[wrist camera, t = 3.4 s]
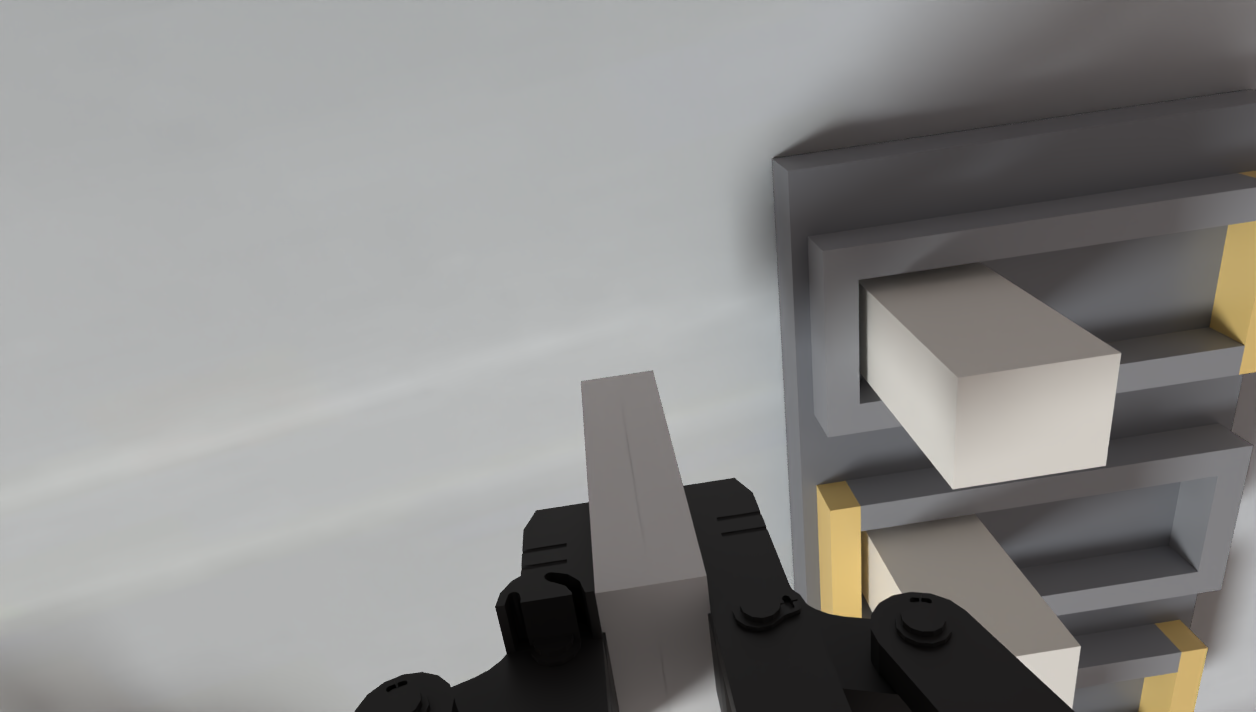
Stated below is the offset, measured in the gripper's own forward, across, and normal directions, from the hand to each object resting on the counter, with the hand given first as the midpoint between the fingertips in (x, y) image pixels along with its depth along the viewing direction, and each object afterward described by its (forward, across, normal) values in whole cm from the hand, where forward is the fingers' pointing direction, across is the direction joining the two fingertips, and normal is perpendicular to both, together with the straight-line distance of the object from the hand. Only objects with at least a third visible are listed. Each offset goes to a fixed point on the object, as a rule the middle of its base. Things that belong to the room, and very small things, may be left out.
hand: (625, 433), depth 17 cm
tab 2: (+3, +7, -7) cm, 11 cm away
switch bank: (+5, +10, -7) cm, 13 cm away
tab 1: (+3, +7, 0) cm, 8 cm away
